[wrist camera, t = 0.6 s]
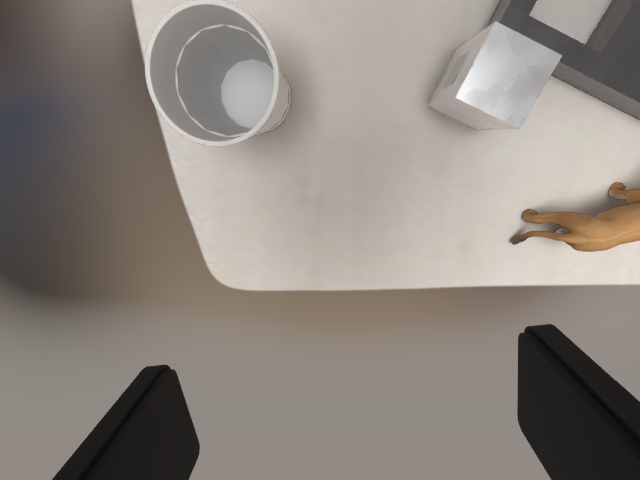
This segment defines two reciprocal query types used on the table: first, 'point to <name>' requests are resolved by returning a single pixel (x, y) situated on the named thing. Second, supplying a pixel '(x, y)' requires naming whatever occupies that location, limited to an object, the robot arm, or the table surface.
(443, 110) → the block
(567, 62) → the rail
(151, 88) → the cup
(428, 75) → the table surface
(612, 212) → the lion figurine
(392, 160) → the table surface
